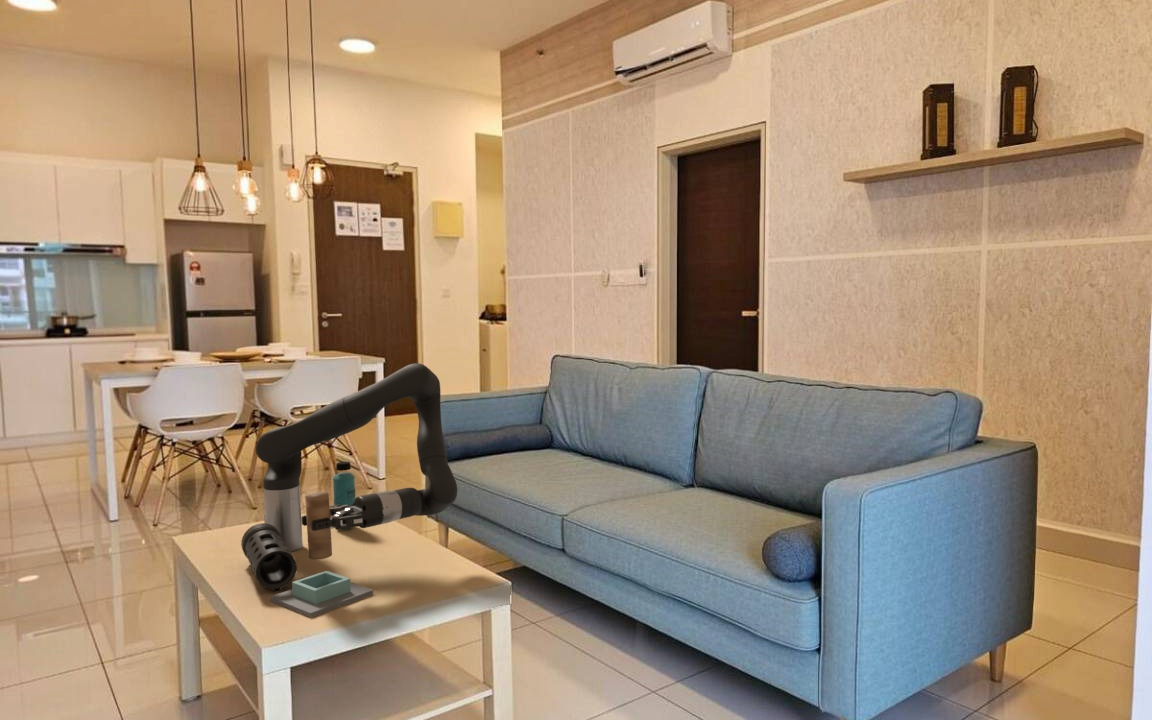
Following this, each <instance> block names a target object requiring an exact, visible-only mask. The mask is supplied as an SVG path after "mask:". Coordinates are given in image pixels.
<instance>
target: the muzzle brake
mask: <svg viewBox="0 0 1152 720" xmlns="http://www.w3.org/2000/svg"><path fill="white" fill-rule="evenodd" d="M240 541H241V545H240V546H241V550H242V551H243V554H244V556H245V558H246V559H248V562H249V564H250V566H251V569H252V572H253V573H254V576H255V578H256V580H257V582H258V583H259V584H260V585H261V587H264V588H265V589H268V590H273V592H274V593H277V592H281V588H284V587H286V586H288V585H289V584H290V583H292V582H293V579H294V578H295V577H296V574H297V572H298V571H297V569H298V566H297V560H296V559H295V557H294V556H293V554H292V552H290V551H289V549H288V548H287V546H286V545H285V543H284V541H283V540H282V537H281V534H280V533H279V531H278V530H277V529H276V528H275V527H274V526H272V525H270V524H266V523H257V524H254V525H251V526H250V527H249V528H247V530H246V531H245V532H244V533H243V536H242V538H241V540H240Z"/></svg>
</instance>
